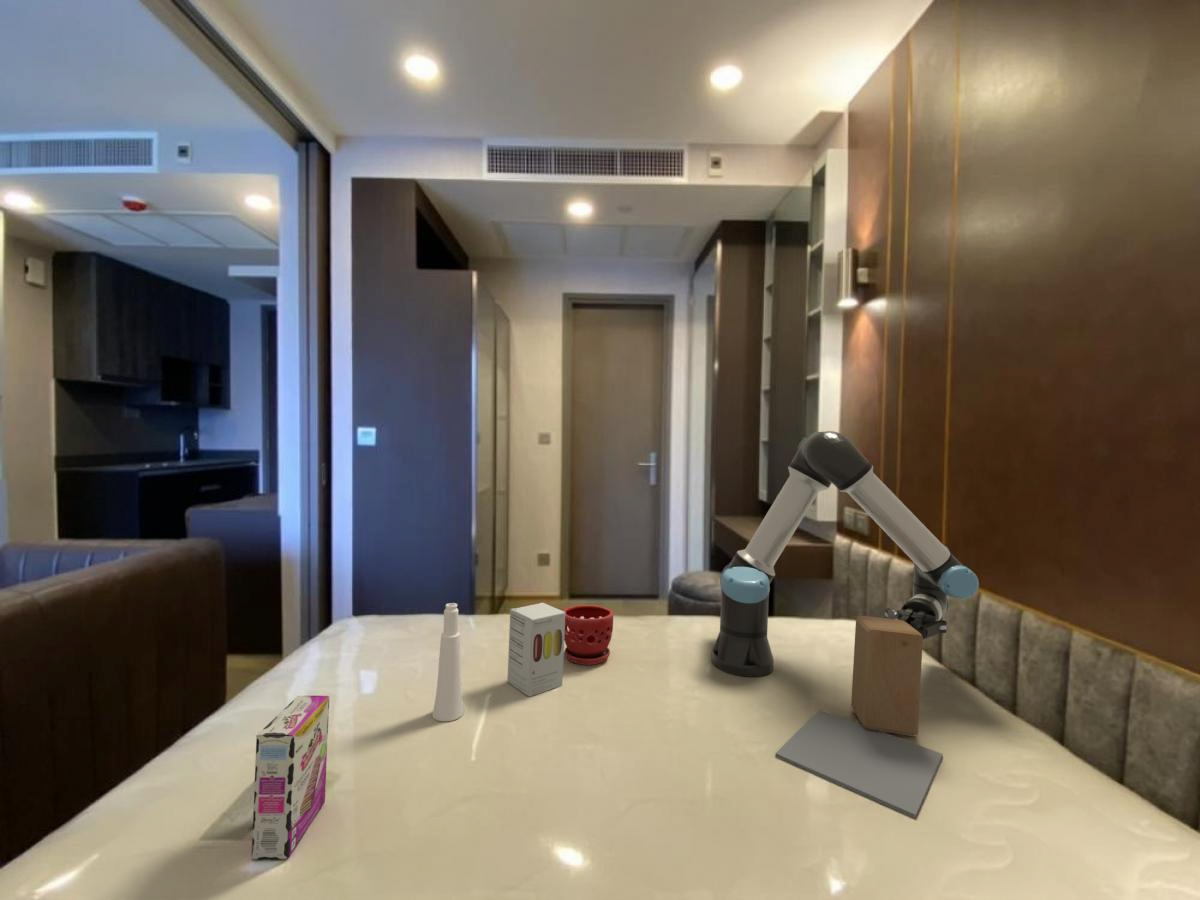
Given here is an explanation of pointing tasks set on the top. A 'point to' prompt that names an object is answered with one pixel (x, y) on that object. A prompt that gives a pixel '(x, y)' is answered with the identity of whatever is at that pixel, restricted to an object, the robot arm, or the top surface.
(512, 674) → the supplement box
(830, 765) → the mat
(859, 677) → the wooden block
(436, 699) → the cosmetic bottle
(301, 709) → the candy bar box
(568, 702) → the top surface
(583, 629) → the plant pot
